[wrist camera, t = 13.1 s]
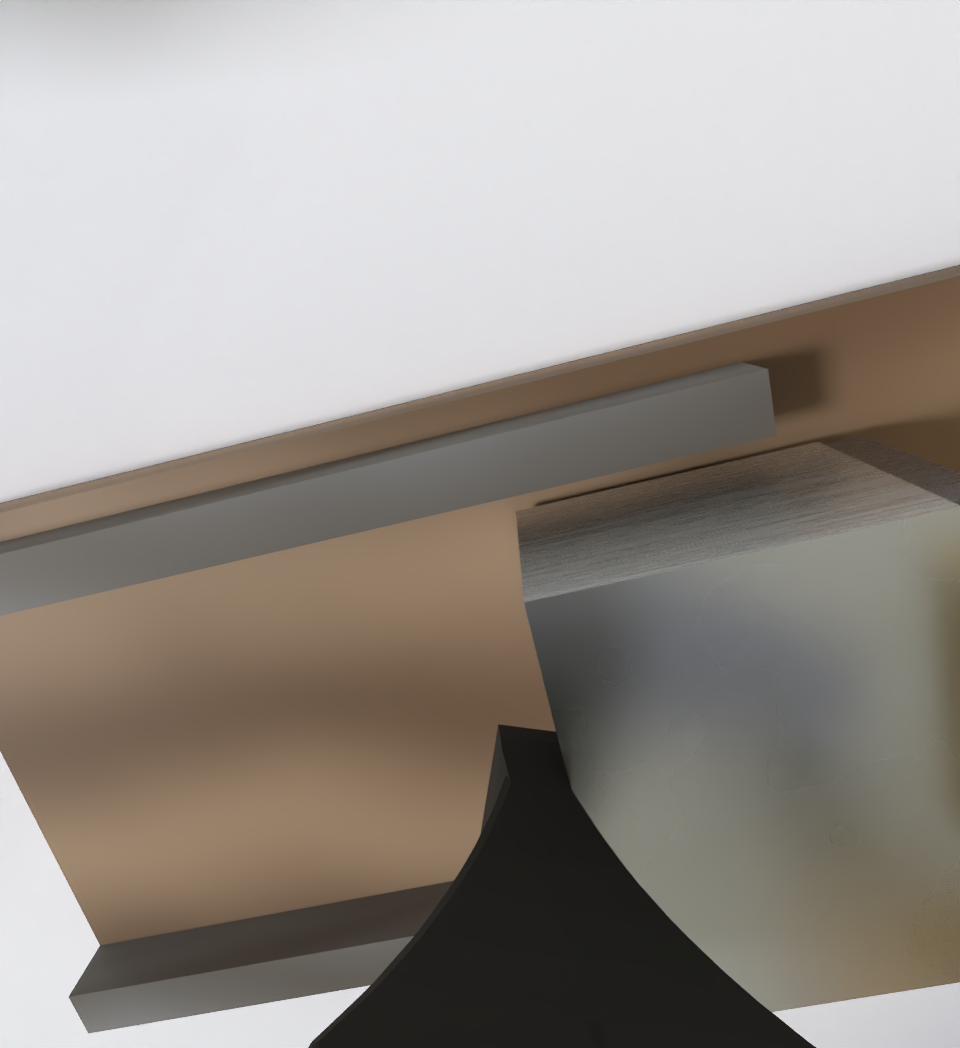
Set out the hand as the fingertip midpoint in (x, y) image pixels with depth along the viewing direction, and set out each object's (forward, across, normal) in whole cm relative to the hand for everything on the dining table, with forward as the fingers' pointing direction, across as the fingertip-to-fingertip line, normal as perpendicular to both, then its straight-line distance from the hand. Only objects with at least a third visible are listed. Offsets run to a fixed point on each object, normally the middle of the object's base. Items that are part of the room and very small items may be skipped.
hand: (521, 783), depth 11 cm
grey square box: (+2, -3, -2) cm, 4 cm away
